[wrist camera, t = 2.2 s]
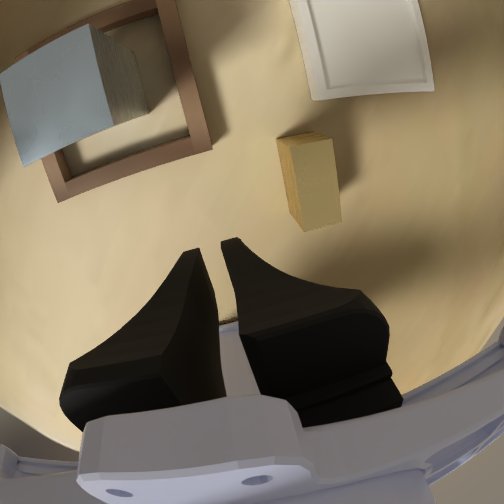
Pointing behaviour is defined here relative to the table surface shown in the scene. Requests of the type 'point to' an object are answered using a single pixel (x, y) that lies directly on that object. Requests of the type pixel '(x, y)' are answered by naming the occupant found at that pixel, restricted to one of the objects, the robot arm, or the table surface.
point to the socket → (150, 3)
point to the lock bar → (310, 179)
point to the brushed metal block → (70, 92)
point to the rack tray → (362, 47)
